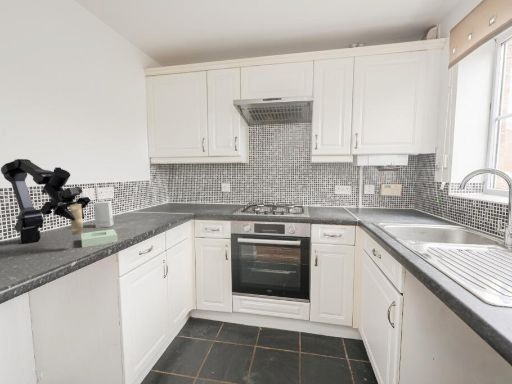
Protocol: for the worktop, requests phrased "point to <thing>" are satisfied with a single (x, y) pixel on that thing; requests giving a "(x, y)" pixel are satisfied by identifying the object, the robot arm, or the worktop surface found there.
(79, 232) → the beech peg
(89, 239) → the hole block
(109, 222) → the skincare box
